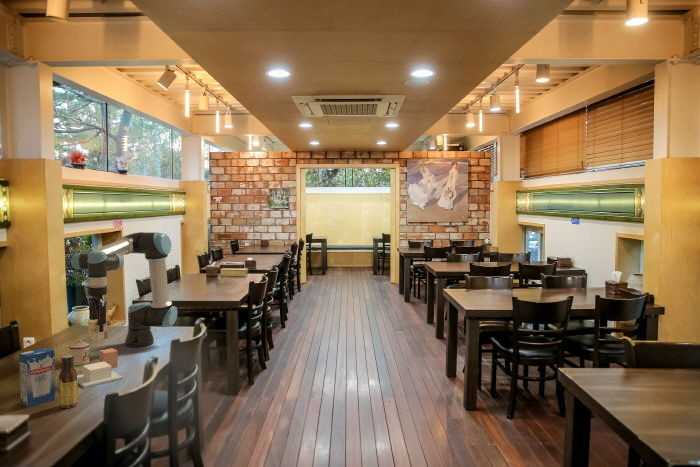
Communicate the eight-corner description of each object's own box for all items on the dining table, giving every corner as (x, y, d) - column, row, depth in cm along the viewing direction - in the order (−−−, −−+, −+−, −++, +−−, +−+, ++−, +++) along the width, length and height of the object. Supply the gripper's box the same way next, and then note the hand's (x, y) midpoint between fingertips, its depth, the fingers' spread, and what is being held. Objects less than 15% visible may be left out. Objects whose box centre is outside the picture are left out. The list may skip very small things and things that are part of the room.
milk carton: (27, 407, 185) (27, 356, 184) (19, 404, 188) (19, 353, 187) (55, 399, 194) (54, 350, 193) (47, 396, 197) (46, 347, 196)
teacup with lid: (86, 365, 236) (86, 341, 235) (66, 366, 234) (66, 342, 233) (94, 358, 248) (93, 335, 247) (74, 359, 246) (74, 336, 245)
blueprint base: (109, 370, 229) (109, 358, 228) (122, 379, 218) (122, 366, 218) (71, 378, 217) (71, 365, 217) (84, 388, 206) (84, 374, 206)
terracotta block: (112, 364, 239) (112, 348, 238) (117, 367, 234) (117, 350, 234) (99, 367, 234) (99, 350, 234) (104, 369, 230) (104, 353, 230)
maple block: (102, 335, 221) (102, 318, 221) (107, 338, 217) (107, 320, 217) (88, 338, 217) (88, 320, 216) (93, 340, 213) (93, 322, 212)
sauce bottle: (64, 403, 190) (63, 353, 189) (80, 402, 191) (80, 353, 190) (55, 409, 184) (55, 358, 183) (72, 409, 184) (72, 358, 183)
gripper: (80, 284, 219) (81, 335, 220) (96, 289, 206) (96, 343, 207) (98, 283, 225) (98, 332, 226) (114, 287, 212) (114, 340, 213)
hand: (97, 337), depth 217 cm, fingers closed on maple block, 6 cm apart
